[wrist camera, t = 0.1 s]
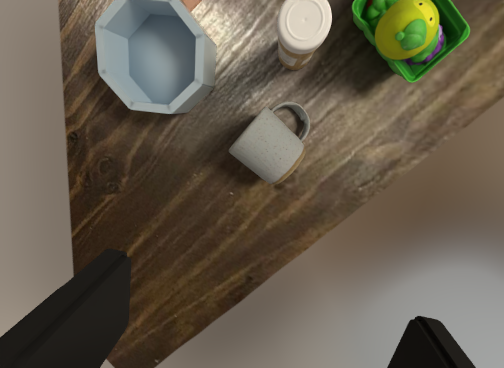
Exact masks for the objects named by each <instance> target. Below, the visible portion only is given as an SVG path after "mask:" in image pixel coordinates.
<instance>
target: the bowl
mask: <svg viewBox="0 0 504 368" xmlns="http://www.w3.org/2000/svg"><path fill="white" fill-rule="evenodd" d="M95 34H96V48H97V61H98V73H100V74H99V75H100V76H101V77H102V78H103V80H104V81H105V82H106V83H107V84H108V85H109V86H110V88H111V89H112V90H113V91H114V92H115V93H116V94H117V95H118V97H119V98H120V99H121V100H122V101H123V102H124V103H125V105H126V106H127V107H128V108H129V109H131V110H139V111H148V112H157V113H166V114H177V113H187V112H189V111H190V110H191V109H192V108H193V107H194V106H195V105H196V104H197V103H199V102H200V101H201V100H202V99H203V98H204V97H205V96H206V95H207V94H208V93H209V92H210V91H212V90H213V89H214V88H213V87H215V69H216V50H217V46H216V44H215V43H214V41H213V40H212V39H211V37H210V36H209V35H208V33H207V32H206V31H205V30H204V28H203V27H202V26H201V24H200V23H199V22H198V20H197V19H196V18H195V16H194V15H193V14H192V13H191V11H190V10H189V9H188V8H187V7H186V6H185V5H184V4H183V3H182V2H181V0H114V1H113V2H112V3H111V5H110V6H109V7H108V8H107V9H106V11H105V12H104V13H103V14H102V16H101V17H100V18H99V19H98V20H97V22H96V25H95Z"/></svg>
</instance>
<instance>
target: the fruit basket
mask: <svg viewBox="0 0 504 368" xmlns="http://www.w3.org/2000/svg"><path fill="white" fill-rule="evenodd" d="M352 12H353V22H354V23H355V24H356V25H357V27H358V28H359V29H360V30H362V31H364V35H365V37H366V38H367V39H368V40H369V42H370V43H371V44H372V45H374V46H376V50H377V52H378V53H379V54H380V55H381V57H382V58H383V59H384V60H386V61H388V65H389V67H390V68H391V69H392V70H393V72H394V73H396V74H398V75H400V76H402V77H403V78H404V79H405V80H407V81H408V82H411V83H412V82H416V81H417V80H419V79H420V78H421V77H422V76H423V75H424V74H426V73H427V72H428V71H429V70H431V69H432V68H433V67H434V66H435V65H436V64H438V63H439V62H440V61H441V60H442V59H443V58H444V57H446V56H447V55H448V54H449V53H450V52H451V51H453V50H454V49H455V48H456V47H458V46H459V45H460V44H461V43H462V42H463V41H464V40H465V39H466V38H467V37H468V35H469V33H470V28H469V25H468V24H467V22H466V21H465V20H464V18H463V17H462V16H461V14H460V13H459V11H458V10H457V9H456V8H455V6H454V5H453V3H452V2H451V0H354V2H353V4H352Z"/></svg>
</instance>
